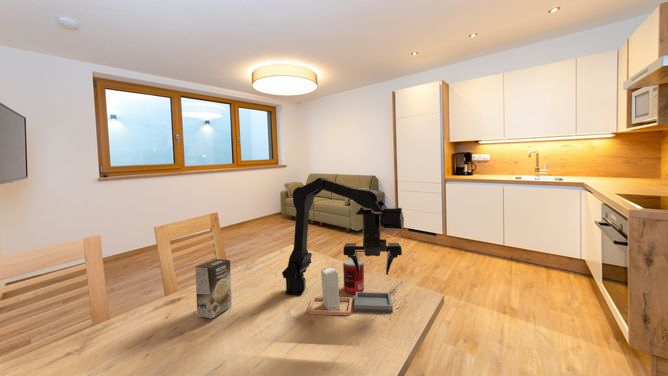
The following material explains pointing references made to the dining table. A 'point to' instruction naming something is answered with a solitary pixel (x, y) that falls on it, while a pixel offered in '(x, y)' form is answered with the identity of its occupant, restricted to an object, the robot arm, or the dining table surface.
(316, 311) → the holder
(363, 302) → the tray
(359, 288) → the canned food
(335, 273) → the skincare box
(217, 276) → the coffee box
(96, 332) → the dining table surface
